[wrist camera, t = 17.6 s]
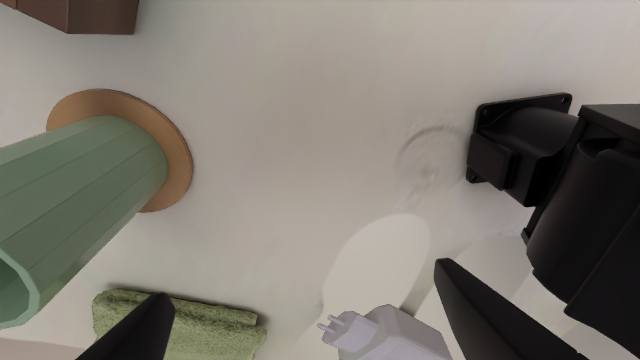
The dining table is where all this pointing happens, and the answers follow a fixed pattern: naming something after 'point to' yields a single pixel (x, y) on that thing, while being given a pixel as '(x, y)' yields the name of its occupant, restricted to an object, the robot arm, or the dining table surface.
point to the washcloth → (188, 327)
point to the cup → (68, 204)
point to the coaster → (142, 116)
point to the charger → (384, 336)
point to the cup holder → (81, 15)
